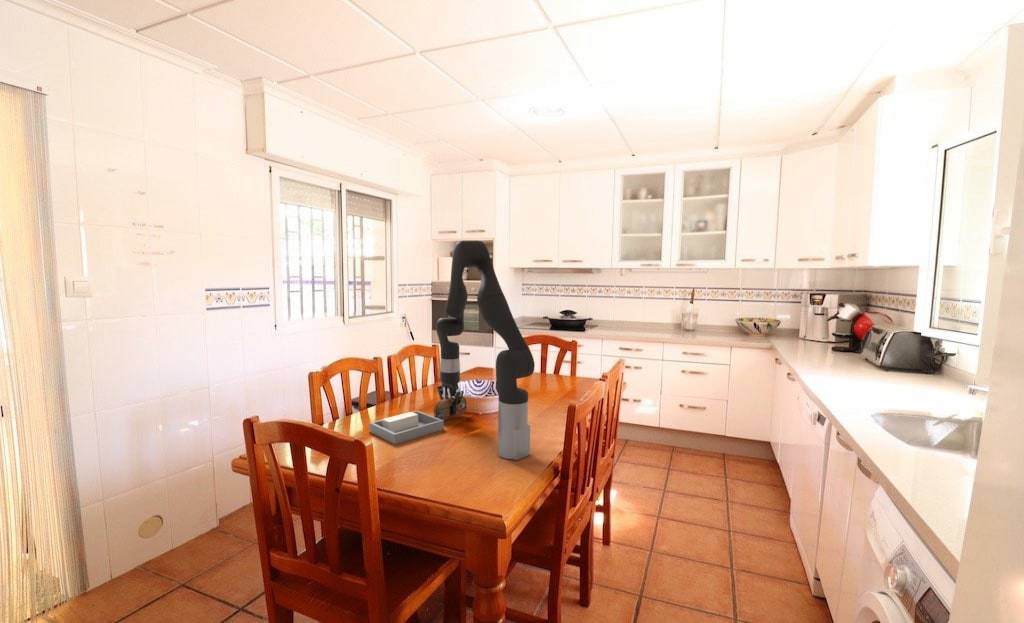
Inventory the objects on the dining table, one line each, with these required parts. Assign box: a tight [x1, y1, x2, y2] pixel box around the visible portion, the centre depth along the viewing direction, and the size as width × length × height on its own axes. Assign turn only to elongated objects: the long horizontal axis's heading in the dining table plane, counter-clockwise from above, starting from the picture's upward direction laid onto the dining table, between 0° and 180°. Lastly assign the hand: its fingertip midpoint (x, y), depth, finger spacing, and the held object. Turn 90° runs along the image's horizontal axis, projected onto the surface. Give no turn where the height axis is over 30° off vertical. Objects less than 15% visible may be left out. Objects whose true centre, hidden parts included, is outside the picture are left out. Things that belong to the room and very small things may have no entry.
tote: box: [368, 410, 445, 445], centre depth 161 cm, size 16×20×4 cm
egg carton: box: [381, 411, 418, 432], centre depth 163 cm, size 4×12×4 cm, turn 136°
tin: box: [433, 396, 467, 421], centre depth 175 cm, size 15×3×8 cm, turn 140°
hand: (450, 413), depth 176 cm, fingers closed on tin, 2 cm apart
